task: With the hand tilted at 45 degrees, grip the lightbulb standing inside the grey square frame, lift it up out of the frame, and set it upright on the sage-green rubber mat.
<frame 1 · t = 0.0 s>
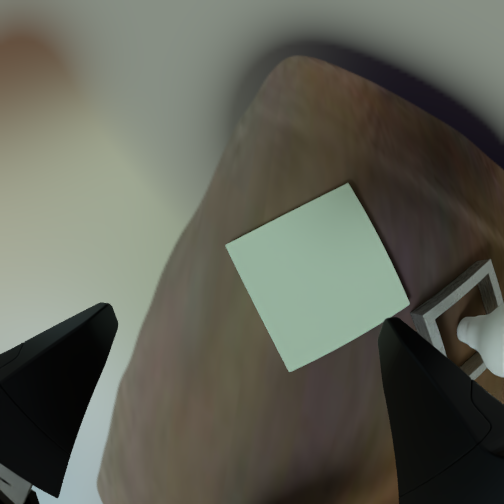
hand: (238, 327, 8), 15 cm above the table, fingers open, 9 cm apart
grey square frame: (461, 328, 20), on the table
green mat: (321, 276, 22), on the table
lightbulb: (460, 328, 20), resting in grey square frame
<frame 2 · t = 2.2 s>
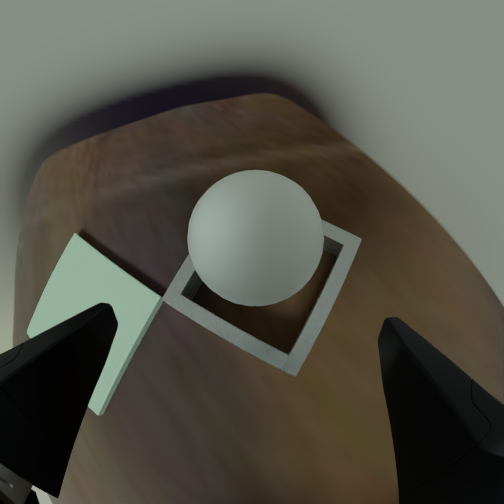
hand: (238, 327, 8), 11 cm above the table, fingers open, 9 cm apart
grey square frame: (264, 279, 20), on the table
green mat: (83, 320, 20), on the table
lightbulb: (265, 279, 20), resting in grey square frame
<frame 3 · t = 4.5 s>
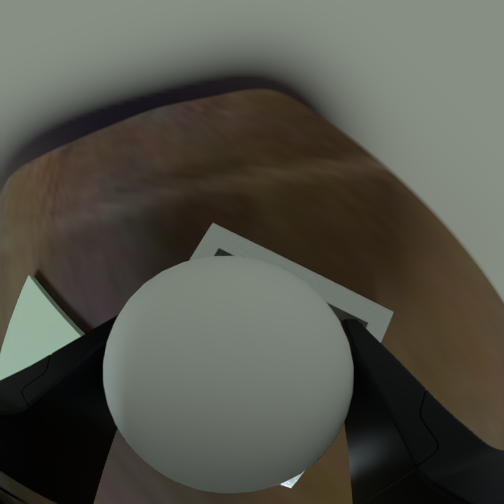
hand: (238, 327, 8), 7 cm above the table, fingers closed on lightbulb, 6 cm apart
grey square frame: (255, 359, 14), on the table
green mat: (45, 381, 14), on the table
lightbulb: (255, 358, 14), resting in grey square frame, touching gripper
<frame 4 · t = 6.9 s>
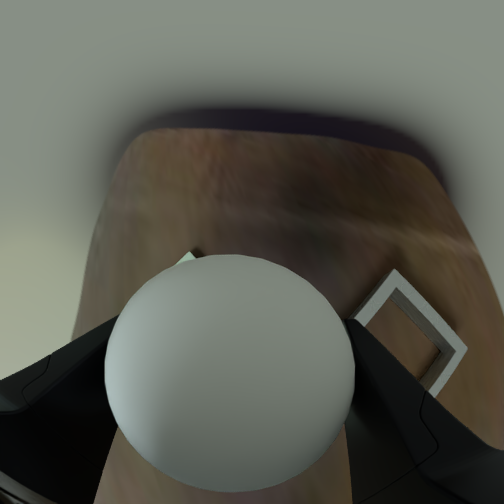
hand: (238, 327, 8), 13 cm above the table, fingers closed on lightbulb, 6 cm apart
grey square frame: (386, 360, 19), on the table
lightbulb: (256, 357, 14), point 6 cm above the table, touching gripper
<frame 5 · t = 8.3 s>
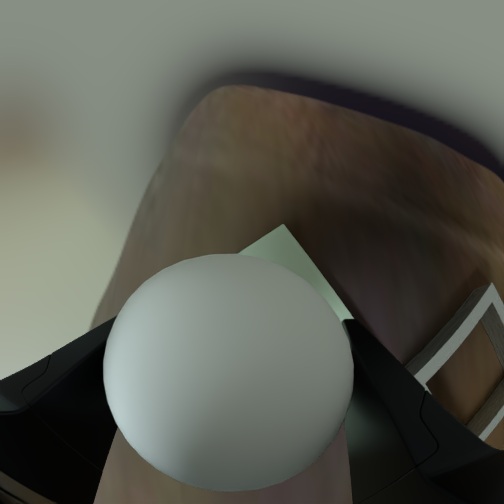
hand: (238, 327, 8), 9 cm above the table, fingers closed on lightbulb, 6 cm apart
grey square frame: (465, 378, 14), on the table
green mat: (259, 351, 17), on the table
lightbulb: (256, 357, 14), point 3 cm above the table, touching gripper
when the fingers open (9 cm above the table, at t = 9.4 s): lightbulb drops 1 cm, resting on green mat.
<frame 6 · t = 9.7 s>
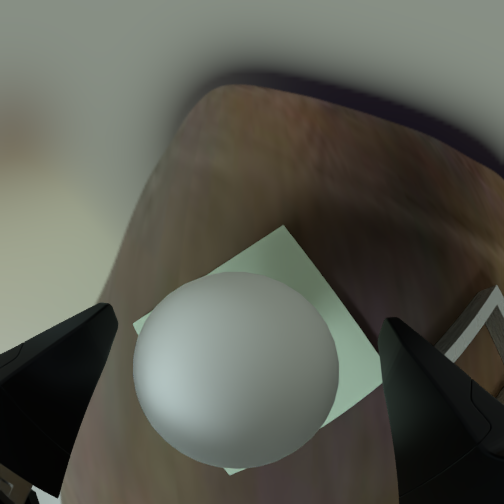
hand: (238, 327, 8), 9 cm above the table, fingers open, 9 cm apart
grey square frame: (469, 382, 13), on the table
green mat: (258, 356, 16), on the table
lightbulb: (257, 360, 15), point 1 cm above the table, touching green mat
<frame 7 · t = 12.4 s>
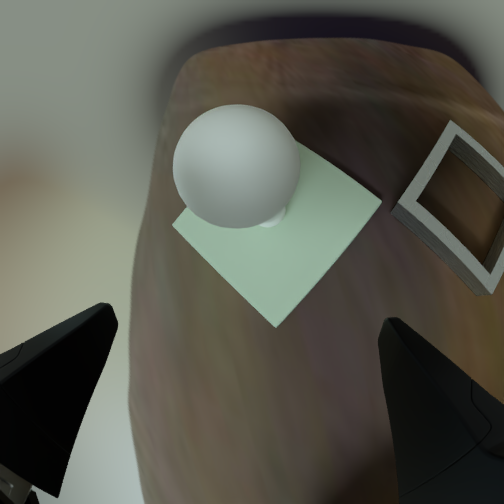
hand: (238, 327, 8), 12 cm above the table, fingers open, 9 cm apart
grey square frame: (464, 208, 17), on the table
green mat: (272, 215, 21), on the table
lightbulb: (271, 214, 20), point 1 cm above the table, touching green mat
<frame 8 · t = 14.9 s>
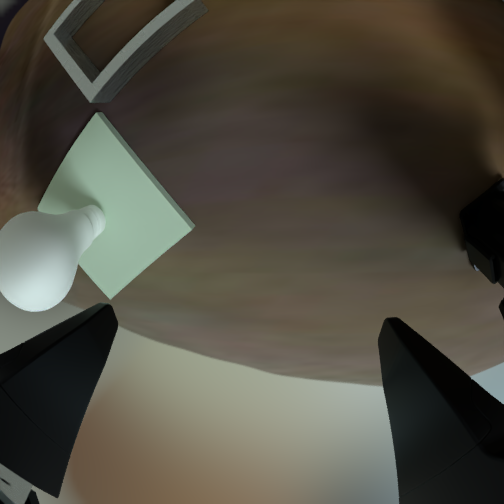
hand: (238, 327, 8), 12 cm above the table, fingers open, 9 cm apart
grey square frame: (122, 22, 13), on the table
green mat: (102, 213, 20), on the table
lightbulb: (100, 215, 20), point 1 cm above the table, touching green mat
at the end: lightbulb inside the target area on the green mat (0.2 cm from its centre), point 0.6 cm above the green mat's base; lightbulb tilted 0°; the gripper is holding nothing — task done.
